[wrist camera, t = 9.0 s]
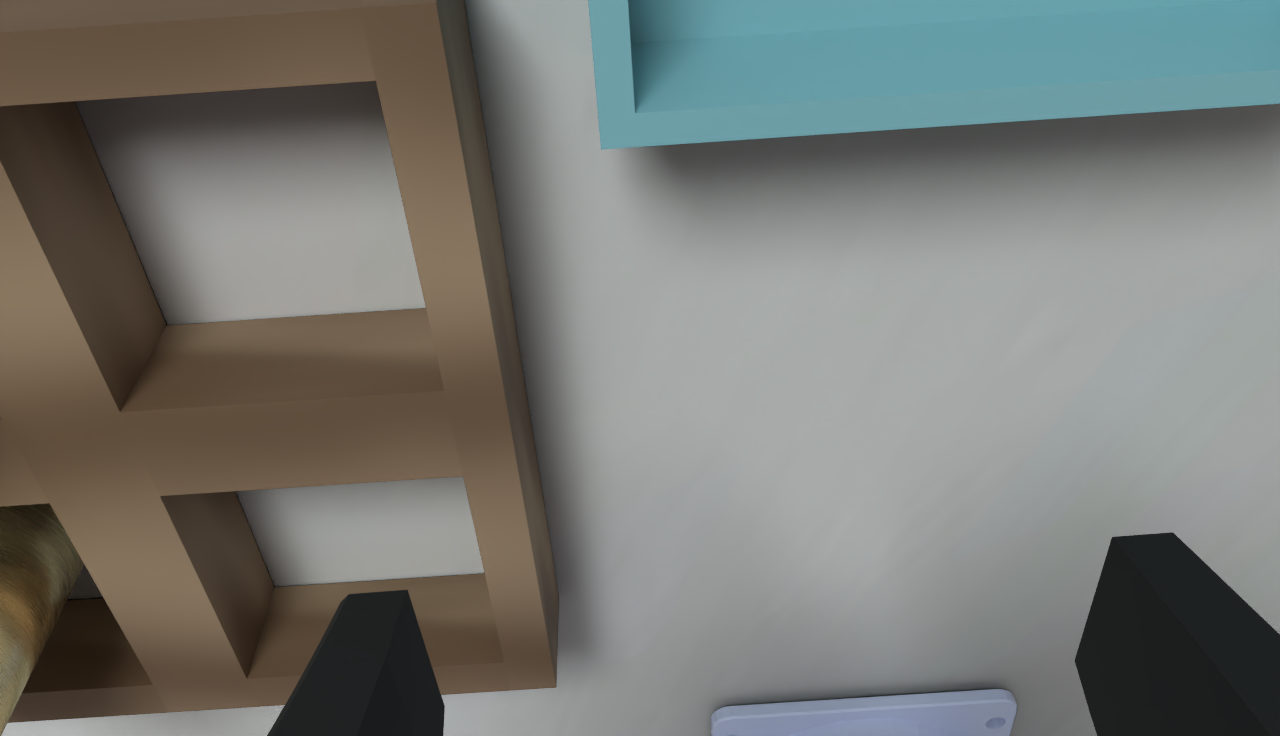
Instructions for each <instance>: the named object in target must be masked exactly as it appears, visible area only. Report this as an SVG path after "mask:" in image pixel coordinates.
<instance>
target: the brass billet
mask: <svg viewBox="0 0 1280 736" xmlns="http://www.w3.org/2000/svg"><path fill="white" fill-rule="evenodd" d="M83 566H84V563H83V561H82V559H81V557H80V556H79V554H78V552H77V550H76V549H75V547H74V545H73V543H72V542H71V540H70V538H69V536H68V535H67V533H66V531H65V529H64V528H63V526H62V524H61V522H60V521H59V519H58V517H57V515H56V514H55V512H54V510H53V508H52V507H51V505H50V503H47V504H32V505H17V506H1V507H0V736H1V735H2V733H3V731H4V729H5V726H6V724H7V722H8V720H9V718H10V716H11V714H12V712H13V710H14V708H15V706H16V704H17V702H18V700H19V698H20V696H21V694H22V691H23V689H24V687H25V685H26V683H27V681H28V679H29V677H30V675H31V673H32V671H33V669H34V667H35V665H36V663H37V661H38V659H39V657H40V654H41V652H42V650H43V648H44V646H45V644H46V642H47V640H48V638H49V636H50V634H51V632H52V630H53V628H54V626H55V624H56V622H57V619H58V617H59V615H60V613H61V611H62V609H63V607H64V605H65V603H66V601H67V599H68V597H69V595H70V593H71V591H72V589H73V587H74V585H75V582H76V580H77V578H78V576H79V574H80V572H81V570H82V568H83Z"/></svg>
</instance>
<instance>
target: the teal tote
mask: <svg viewBox="0 0 1280 736" xmlns="http://www.w3.org/2000/svg"><path fill="white" fill-rule="evenodd" d="M588 3H589V15H590V27H591V38H592V50H593V61H594V73H595V85H596V96H597V108H598V119H599V131H600V143H601V149H615V148H629V147H644V146H659V145H674V144H689V143H704V142H718V141H733V140H748V139H763V138H778V137H792V136H807V135H822V134H837V133H852V132H866V131H881V130H896V129H911V128H926V127H940V126H955V125H970V124H985V123H1000V122H1015V121H1029V120H1044V119H1059V118H1074V117H1089V116H1103V115H1118V114H1133V113H1148V112H1163V111H1177V110H1192V109H1207V108H1222V107H1237V106H1252V105H1266V104H1280V0H588Z"/></svg>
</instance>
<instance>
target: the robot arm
mask: <svg viewBox="0 0 1280 736" xmlns="http://www.w3.org/2000/svg"><path fill="white" fill-rule="evenodd" d="M1075 663H1076V667H1077V670H1078V673H1079V677H1080V680H1081V684H1082V687H1083V690H1084V694H1085V697H1086V701H1087V704H1088V707H1089V711H1090V714H1091V717H1092V720H1093V723H1094V726H1095V729H1096V733H1097V736H1280V634H1279V633H1278V632H1277V631H1275V630H1274V629H1273V628H1272V627H1271V626H1270V625H1269V624H1268V623H1267V622H1266V621H1265V620H1264V619H1263V618H1262V617H1261V616H1260V615H1259V614H1258V613H1257V612H1255V611H1254V610H1253V609H1252V608H1251V607H1250V606H1249V605H1248V604H1247V603H1246V602H1245V601H1244V600H1243V599H1242V598H1241V597H1240V596H1239V595H1238V594H1237V593H1236V592H1235V591H1234V590H1233V589H1232V588H1230V587H1229V586H1228V585H1227V584H1226V583H1225V582H1224V581H1223V580H1222V579H1221V578H1220V577H1219V576H1218V575H1217V574H1216V573H1215V572H1214V571H1213V570H1212V569H1211V568H1210V567H1209V566H1208V565H1207V564H1205V563H1204V562H1203V561H1202V560H1201V559H1200V558H1199V557H1198V556H1197V555H1196V554H1195V553H1194V552H1193V551H1192V550H1191V549H1190V548H1189V547H1188V546H1186V545H1185V544H1184V543H1183V542H1182V541H1181V540H1180V539H1179V538H1178V537H1177V536H1176V535H1175V534H1174V533H1160V534H1147V535H1133V536H1120V537H1112V539H1111V543H1110V546H1109V549H1108V553H1107V556H1106V559H1105V563H1104V566H1103V569H1102V572H1101V576H1100V579H1099V582H1098V586H1097V589H1096V592H1095V595H1094V599H1093V602H1092V605H1091V609H1090V612H1089V615H1088V619H1087V622H1086V625H1085V628H1084V632H1083V635H1082V638H1081V642H1080V645H1079V648H1078V651H1077V655H1076V658H1075ZM444 707H445V706H444V703H443V700H442V697H441V694H440V691H439V687H438V684H437V681H436V678H435V675H434V672H433V669H432V665H431V662H430V659H429V656H428V653H427V650H426V646H425V643H424V640H423V637H422V634H421V631H420V627H419V624H418V621H417V618H416V615H415V612H414V609H413V605H412V602H411V599H410V596H409V593H408V590H396V591H382V592H369V593H356V594H348V595H347V596H346V597H345V598H344V599H343V600H342V601H341V602H340V604H339V606H338V608H337V610H336V612H335V614H334V616H333V618H332V620H331V622H330V624H329V626H328V628H327V629H326V631H325V633H324V635H323V637H322V639H321V641H320V643H319V645H318V646H317V648H316V650H315V652H314V654H313V656H312V658H311V659H310V661H309V663H308V665H307V667H306V669H305V670H304V672H303V674H302V676H301V678H300V680H299V681H298V683H297V685H296V687H295V688H294V690H293V692H292V694H291V695H290V697H289V699H288V701H287V702H286V704H285V706H284V708H283V709H282V711H281V713H280V715H279V717H278V718H277V720H276V722H275V723H274V725H273V727H272V728H271V730H270V732H269V733H268V735H267V736H443V727H444ZM1016 712H1017V704H1016V701H1015V698H1014V696H1013V694H1012V693H1011V692H1009V691H1007V690H1004V689H987V690H971V691H955V692H940V693H924V694H909V695H893V696H877V697H862V698H846V699H831V700H815V701H799V702H784V703H768V704H753V705H737V706H726V707H722V708H720V709H718V710H716V711H715V712H714V713H713V714H712V716H711V736H1010V733H1011V729H1012V726H1013V722H1014V719H1015V715H1016Z"/></svg>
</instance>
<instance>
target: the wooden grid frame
mask: <svg viewBox="0 0 1280 736" xmlns="http://www.w3.org/2000/svg"><path fill="white" fill-rule="evenodd" d="M364 81H376V84H377V89H378V93H379V98H380V102H381V107H382V111H383V116H384V120H385V125H386V129H387V134H388V138H389V143H390V148H391V152H392V157H393V161H394V166H395V170H396V175H397V179H398V184H399V188H400V193H401V197H402V202H403V206H404V211H405V215H406V220H407V224H408V229H409V233H410V238H411V242H412V247H413V251H414V256H415V261H416V265H417V270H418V274H419V279H420V283H421V288H422V292H423V297H424V301H425V306H426V308H420V309H405V310H390V311H375V312H360V313H345V314H330V315H315V316H300V317H285V318H270V319H255V320H240V321H225V322H210V323H195V324H180V325H166V323H165V321H164V318H163V316H162V313H161V311H160V309H159V306H158V304H157V301H156V299H155V296H154V294H153V292H152V289H151V287H150V284H149V282H148V279H147V277H146V275H145V272H144V270H143V267H142V265H141V262H140V260H139V258H138V255H137V253H136V250H135V248H134V245H133V243H132V241H131V238H130V236H129V233H128V231H127V228H126V226H125V224H124V221H123V219H122V216H121V214H120V211H119V209H118V207H117V204H116V202H115V199H114V197H113V194H112V192H111V190H110V187H109V185H108V182H107V180H106V177H105V175H104V173H103V170H102V168H101V165H100V163H99V161H98V158H97V156H96V153H95V151H94V148H93V146H92V144H91V141H90V139H89V136H88V134H87V131H86V129H85V127H84V124H83V122H82V119H81V117H80V114H79V112H78V110H77V107H76V105H75V102H74V101H85V100H100V99H115V98H129V97H144V96H159V95H173V94H188V93H203V92H217V91H232V90H247V89H262V88H276V87H291V86H306V85H320V84H335V83H350V82H364ZM459 476H463V477H464V482H465V486H466V491H467V496H468V500H469V505H470V509H471V514H472V518H473V523H474V527H475V532H476V536H477V541H478V545H479V550H480V554H481V559H482V563H483V568H484V572H485V574H470V575H455V576H439V577H424V578H409V579H393V580H378V581H362V582H347V583H332V584H316V585H301V586H286V587H274V585H273V583H272V580H271V578H270V575H269V573H268V571H267V568H266V566H265V563H264V561H263V558H262V556H261V554H260V551H259V549H258V546H257V544H256V541H255V539H254V537H253V534H252V532H251V529H250V527H249V524H248V522H247V520H246V517H245V515H244V512H243V510H242V507H241V505H240V503H239V500H238V498H237V495H236V493H235V491H245V490H260V489H276V488H291V487H306V486H321V485H337V484H352V483H367V482H382V481H398V480H413V479H428V478H443V477H459ZM47 503H50V505H51V507H52V508H53V510H54V512H55V514H56V515H57V517H58V519H59V521H60V522H61V524H62V526H63V528H64V529H65V531H66V533H67V535H68V536H69V538H70V540H71V542H72V543H73V545H74V547H75V549H76V550H77V552H78V554H79V556H80V557H81V559H82V561H83V563H84V564H85V566H86V568H87V570H88V571H89V573H90V575H91V577H92V578H93V580H94V582H95V584H96V585H97V587H98V589H99V591H100V592H101V594H102V596H103V598H101V599H86V600H70V601H66V603H65V605H64V607H63V609H62V611H61V613H60V615H59V617H58V619H57V622H56V624H55V626H54V628H53V630H52V632H51V634H50V636H49V638H48V640H47V642H46V644H45V646H44V648H43V650H42V652H41V654H40V657H39V659H38V661H37V663H36V665H35V667H34V669H33V671H32V673H31V675H30V677H29V679H28V681H27V683H26V685H25V687H24V689H23V691H22V694H21V696H20V698H19V700H18V702H17V704H16V706H15V708H14V710H13V712H12V714H11V716H10V718H9V720H8V722H7V723H11V722H26V721H42V720H57V719H73V718H88V717H104V716H119V715H135V714H151V713H166V712H182V711H197V710H213V709H228V708H244V707H259V706H275V705H285V704H286V702H287V701H288V699H289V697H290V695H291V694H292V692H293V690H294V688H295V687H296V685H297V683H298V681H299V680H300V678H301V676H302V674H303V672H304V670H305V669H306V667H307V665H308V663H309V661H310V659H311V658H312V656H313V654H314V652H315V650H316V648H317V646H318V645H319V643H320V641H321V639H322V637H323V635H324V633H325V631H326V629H327V628H328V626H329V624H330V622H331V620H332V618H333V616H334V614H335V612H336V610H337V608H338V606H339V604H340V602H341V601H342V600H343V599H344V598H345V597H346V596H347V595H348V594H356V593H369V592H382V591H396V590H408V593H409V596H410V599H411V602H412V605H413V609H414V612H415V615H416V618H417V621H418V624H419V627H420V631H421V634H422V637H423V640H424V643H425V646H426V650H427V653H428V656H429V659H430V662H431V665H432V669H433V672H434V675H435V678H436V681H437V684H438V687H439V691H440V694H441V695H446V694H461V693H477V692H493V691H508V690H524V689H539V688H555V687H556V680H557V647H558V615H559V594H558V587H557V581H556V575H555V569H554V562H553V556H552V550H551V543H550V537H549V531H548V525H547V518H546V512H545V506H544V499H543V493H542V487H541V481H540V474H539V468H538V462H537V455H536V449H535V443H534V437H533V430H532V424H531V418H530V411H529V405H528V399H527V392H526V386H525V380H524V374H523V367H522V361H521V355H520V348H519V342H518V336H517V330H516V323H515V317H514V311H513V304H512V298H511V292H510V286H509V279H508V273H507V267H506V260H505V254H504V248H503V242H502V235H501V229H500V223H499V216H498V210H497V204H496V197H495V191H494V185H493V179H492V172H491V166H490V160H489V153H488V147H487V141H486V135H485V128H484V122H483V116H482V109H481V103H480V97H479V91H478V84H477V78H476V72H475V65H474V59H473V53H472V47H471V40H470V34H469V28H468V21H467V15H466V9H465V2H464V0H0V507H1V506H17V505H32V504H47Z"/></svg>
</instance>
